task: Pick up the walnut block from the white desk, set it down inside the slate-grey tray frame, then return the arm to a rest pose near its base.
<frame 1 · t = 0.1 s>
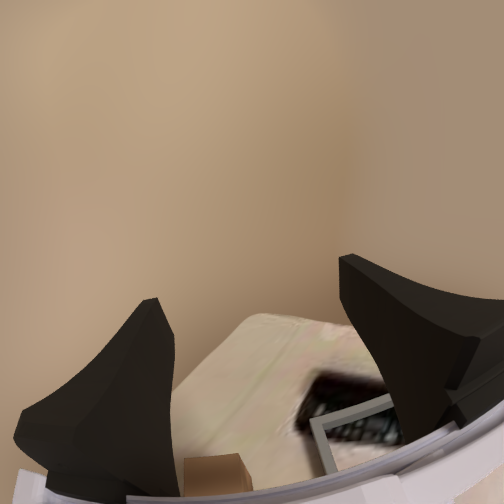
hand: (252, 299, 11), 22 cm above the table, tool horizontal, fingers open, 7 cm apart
walnut block: (230, 499, 20), on the table
tray frame: (396, 456, 20), on the table
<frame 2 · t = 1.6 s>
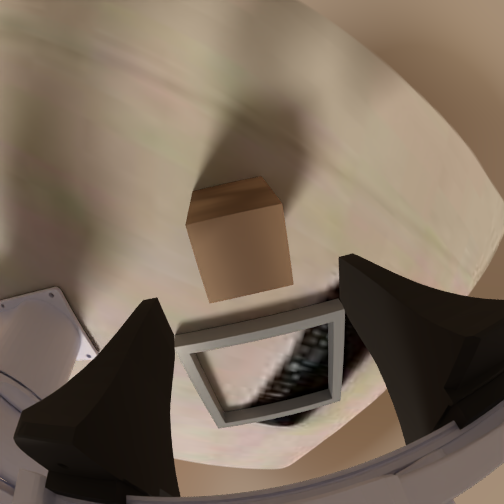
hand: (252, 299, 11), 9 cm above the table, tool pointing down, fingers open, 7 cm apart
walnut block: (233, 215, 20), on the table
tray frame: (269, 371, 27), on the table
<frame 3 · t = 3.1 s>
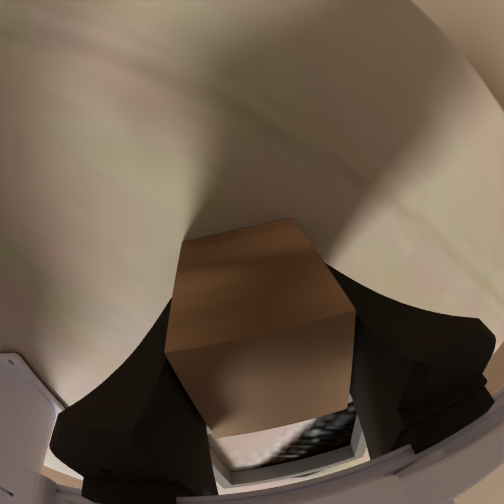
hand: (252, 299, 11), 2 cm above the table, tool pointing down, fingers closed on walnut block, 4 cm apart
walnut block: (247, 277, 13), on the table, touching gripper
tray frame: (285, 438, 20), on the table
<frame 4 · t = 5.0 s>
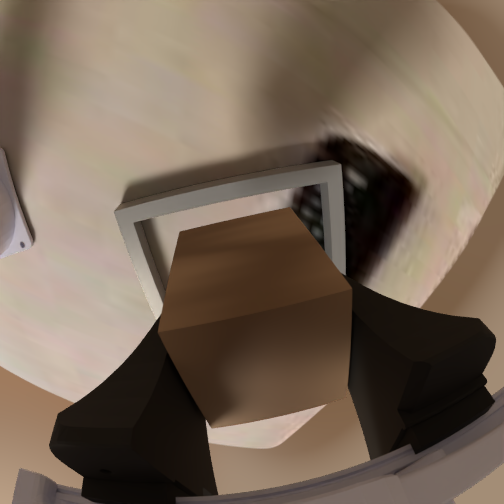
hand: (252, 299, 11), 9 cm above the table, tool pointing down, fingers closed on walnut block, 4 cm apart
walnut block: (245, 267, 13), point 7 cm above the table, touching gripper
tray frame: (245, 273, 21), on the table
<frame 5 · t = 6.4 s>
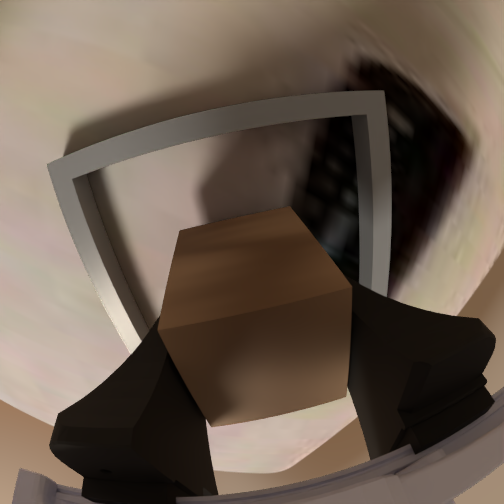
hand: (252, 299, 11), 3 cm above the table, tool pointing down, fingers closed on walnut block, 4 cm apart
walnut block: (245, 266, 13), point 1 cm above the table, touching gripper
tray frame: (243, 259, 14), on the table
when the fingers open (3 cm above the table, at t = 7.3 s): walnut block drops 1 cm, resting in tray frame.
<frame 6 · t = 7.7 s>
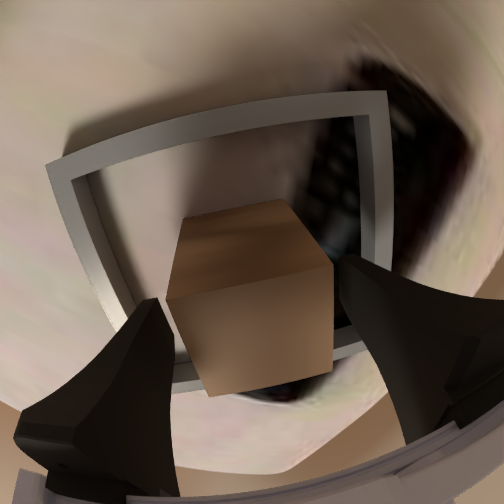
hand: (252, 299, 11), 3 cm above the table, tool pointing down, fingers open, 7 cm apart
walnut block: (242, 253, 14), resting in tray frame
tray frame: (244, 260, 14), on the table
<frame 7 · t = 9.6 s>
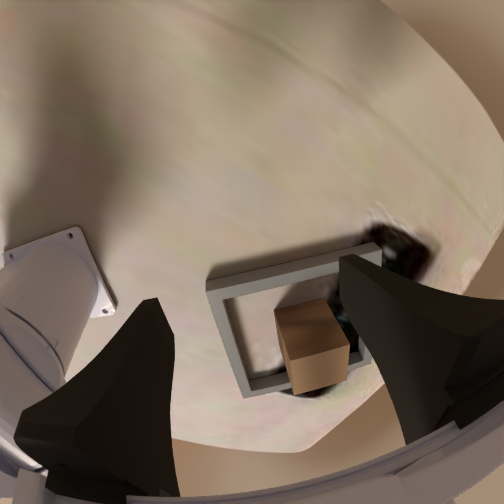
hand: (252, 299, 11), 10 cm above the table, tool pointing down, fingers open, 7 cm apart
walnut block: (300, 323, 26), resting in tray frame
tray frame: (301, 326, 26), on the table
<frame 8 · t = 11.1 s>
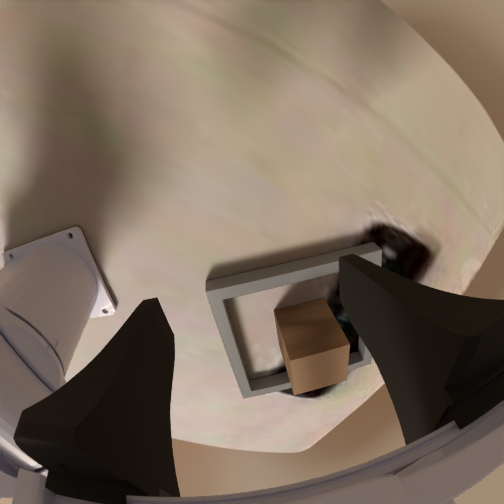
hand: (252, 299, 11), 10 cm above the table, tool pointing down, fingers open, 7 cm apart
walnut block: (300, 323, 26), resting in tray frame
tray frame: (301, 326, 26), on the table
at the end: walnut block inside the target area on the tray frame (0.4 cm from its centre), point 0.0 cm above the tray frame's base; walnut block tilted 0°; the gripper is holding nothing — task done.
